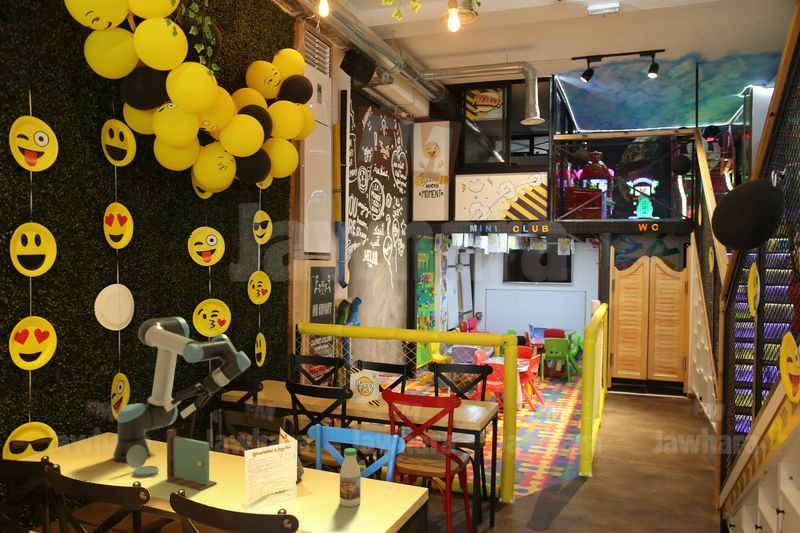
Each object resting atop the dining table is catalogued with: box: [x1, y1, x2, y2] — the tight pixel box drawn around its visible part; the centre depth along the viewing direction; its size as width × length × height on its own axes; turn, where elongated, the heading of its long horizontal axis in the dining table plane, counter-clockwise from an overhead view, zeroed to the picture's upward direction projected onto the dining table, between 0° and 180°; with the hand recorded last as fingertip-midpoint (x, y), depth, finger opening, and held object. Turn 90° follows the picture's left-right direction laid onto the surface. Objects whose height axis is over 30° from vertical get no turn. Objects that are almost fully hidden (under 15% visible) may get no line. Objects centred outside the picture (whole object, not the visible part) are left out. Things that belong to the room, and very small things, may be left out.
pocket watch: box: [126, 445, 160, 478], centre depth 256 cm, size 10×11×15 cm
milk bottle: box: [339, 447, 362, 508], centre depth 224 cm, size 8×8×20 cm
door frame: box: [165, 428, 218, 491], centre depth 245 cm, size 22×8×20 cm, turn 61°
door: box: [173, 435, 210, 484], centre depth 244 cm, size 19×4×16 cm, turn 61°
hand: (174, 412), depth 250 cm, fingers open, 13 cm apart
